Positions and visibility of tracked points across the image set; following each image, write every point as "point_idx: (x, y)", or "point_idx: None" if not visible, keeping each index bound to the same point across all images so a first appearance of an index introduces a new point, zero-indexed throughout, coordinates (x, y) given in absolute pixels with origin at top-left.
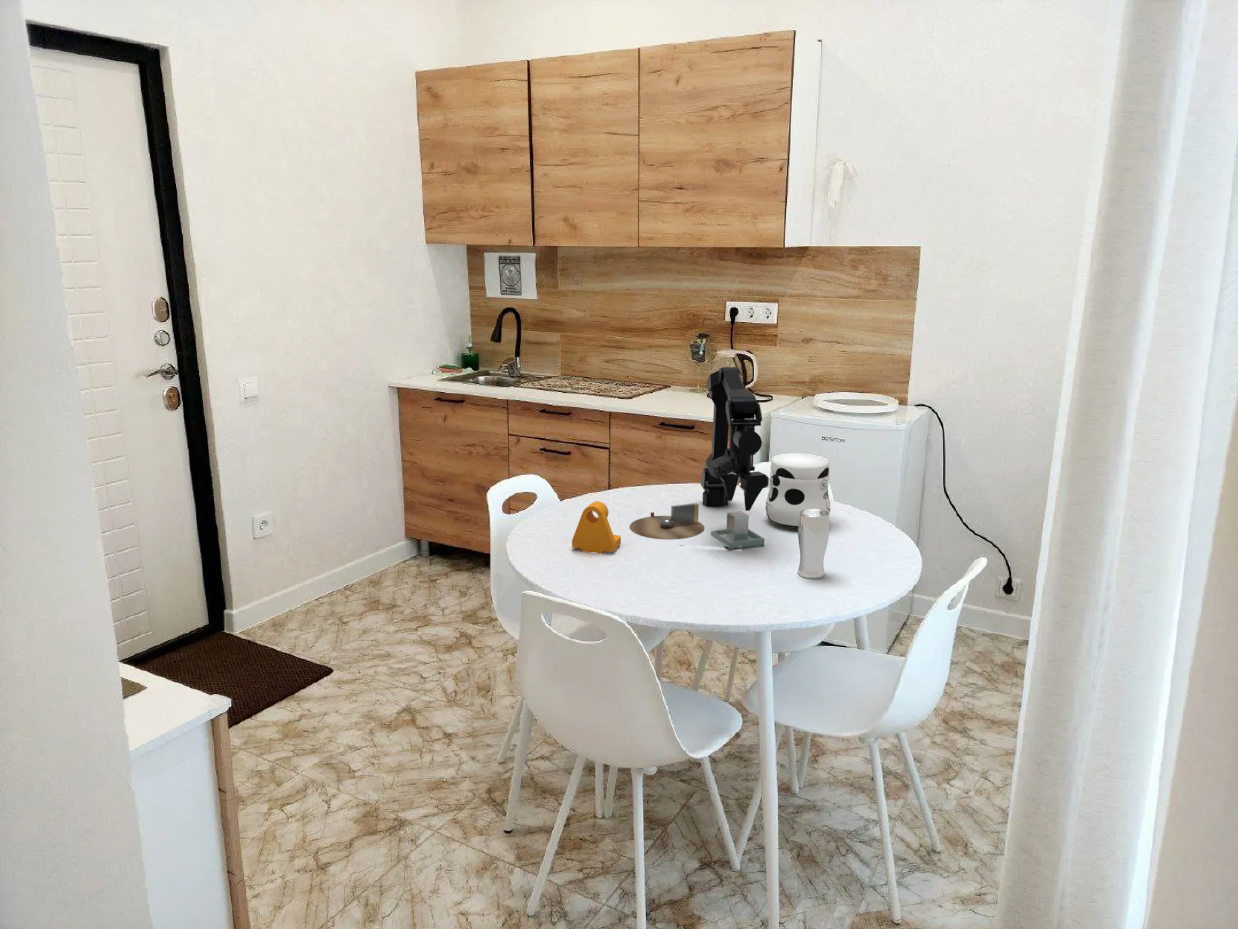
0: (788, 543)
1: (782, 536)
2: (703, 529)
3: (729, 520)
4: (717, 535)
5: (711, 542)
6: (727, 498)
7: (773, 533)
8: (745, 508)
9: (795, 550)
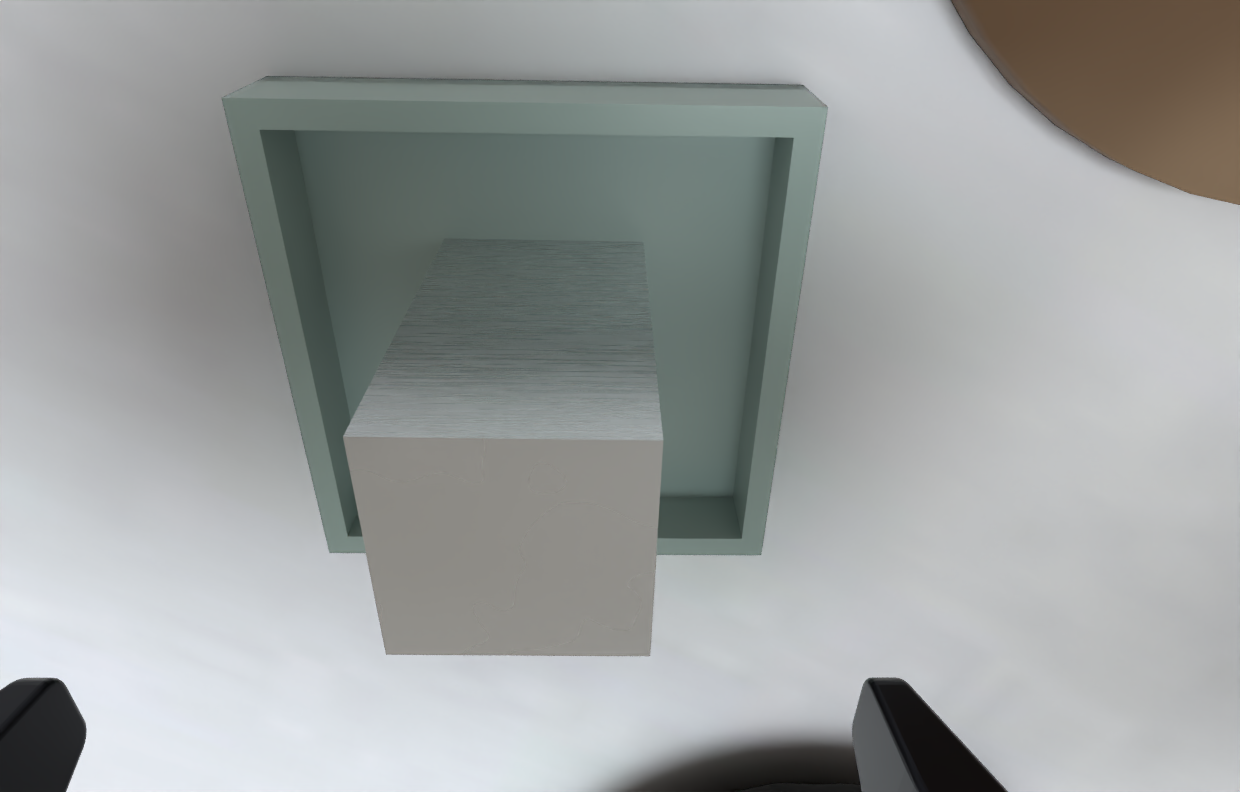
0: (372, 675)
1: (551, 708)
2: (1067, 108)
3: (560, 372)
4: (614, 103)
5: (661, 10)
6: (920, 715)
7: (648, 688)
8: (5, 713)
9: (186, 646)
